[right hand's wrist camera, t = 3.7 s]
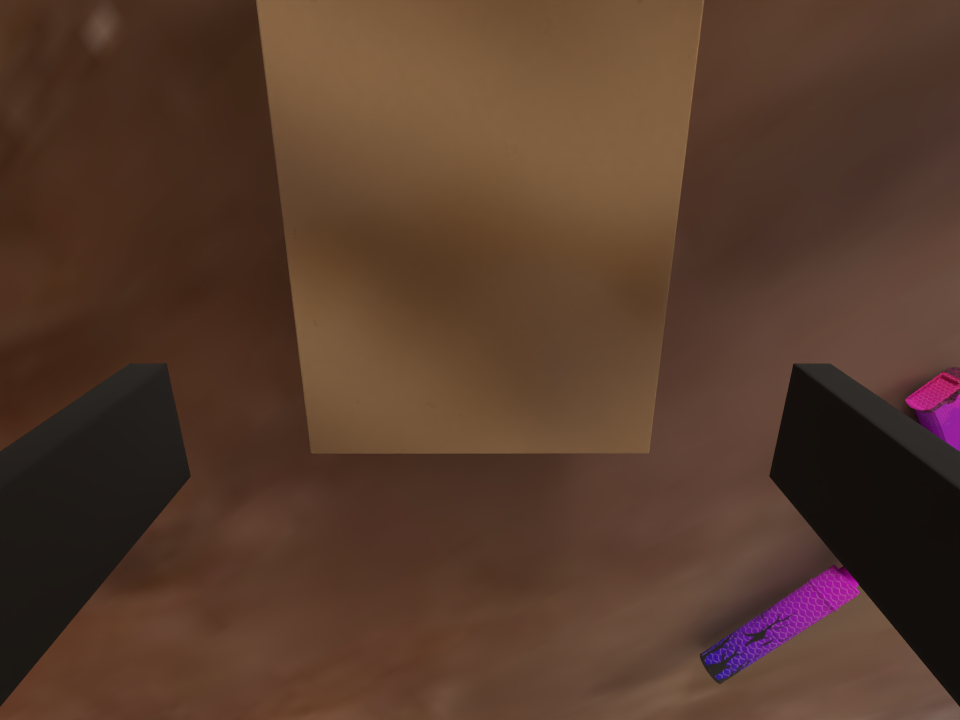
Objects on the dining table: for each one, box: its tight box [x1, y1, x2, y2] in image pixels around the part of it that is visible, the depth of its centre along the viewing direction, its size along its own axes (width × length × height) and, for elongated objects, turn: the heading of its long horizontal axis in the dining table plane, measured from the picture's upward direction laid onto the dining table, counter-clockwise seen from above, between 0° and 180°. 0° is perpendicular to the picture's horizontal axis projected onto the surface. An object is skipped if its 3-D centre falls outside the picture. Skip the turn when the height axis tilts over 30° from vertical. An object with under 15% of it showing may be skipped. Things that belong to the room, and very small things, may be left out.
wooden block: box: [256, 0, 704, 454], centre depth 22 cm, size 13×11×10 cm
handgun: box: [700, 368, 960, 684], centre depth 32 cm, size 21×8×2 cm, turn 136°
